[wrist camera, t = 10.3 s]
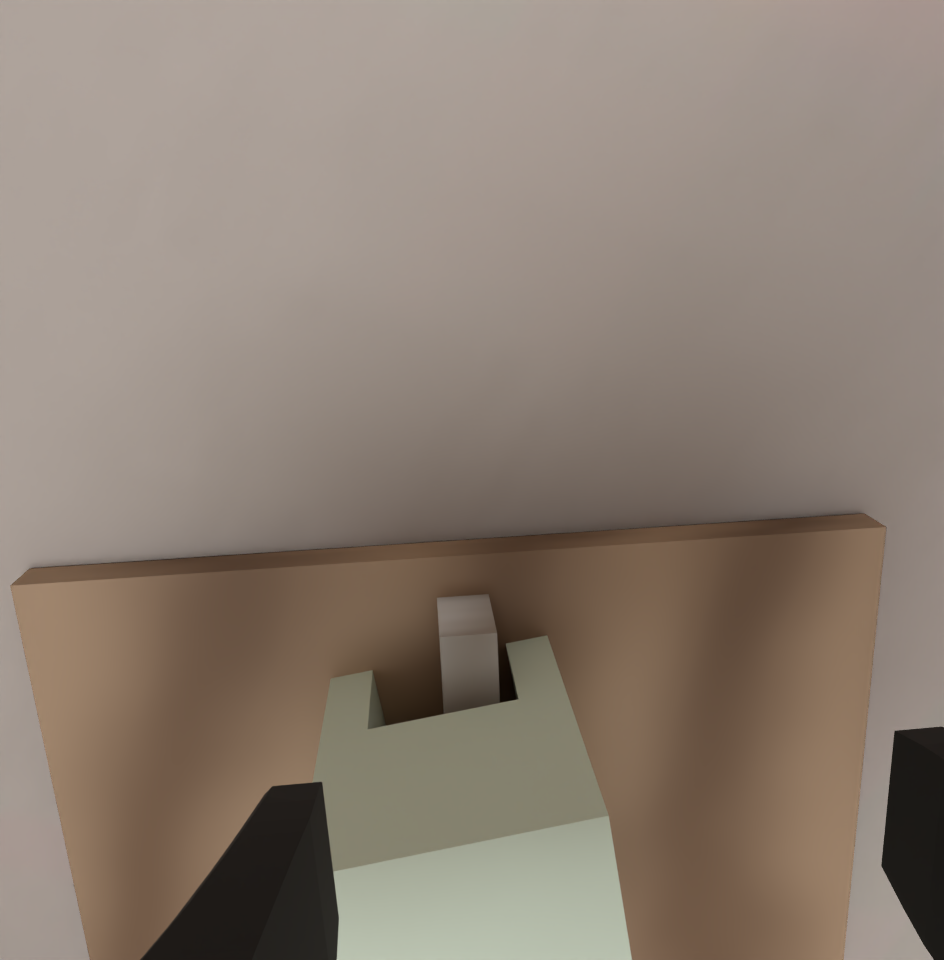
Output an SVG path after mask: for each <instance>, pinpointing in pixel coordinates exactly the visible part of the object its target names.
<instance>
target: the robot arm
mask: <svg viewBox="0 0 944 960" xmlns="http://www.w3.org/2000/svg"><path fill="white" fill-rule="evenodd" d="M882 868H883V870H884V872H885V874H886V875H887V877H888V879H889V881H890V883H891V885H892V887H893V889H894V891H895V893H896V895H897V897H898V899H899V901H900V903H901V904H902V906H903V908H904V910H905V912H906V914H907V915H908V917H909V919H910V921H911V923H912V924H913V926H914V928H915V930H916V932H917V933H918V935H919V937H920V939H921V941H922V942H923V944H924V946H925V947H926V949H927V950H928V952H929V953H930V955H931V956H932V957H933V959H934V960H944V727H933V728H922V729H910V730H899V731H895V733H894V743H893V753H892V763H891V774H890V784H889V794H888V804H887V815H886V825H885V835H884V845H883V855H882ZM338 927H339V914H338V906H337V898H336V890H335V882H334V874H333V866H332V858H331V850H330V842H329V833H328V825H327V817H326V809H325V801H324V793H323V785H322V782H313V783H301V784H290V785H279V786H272V787H271V788H270V789H269V790H268V791H267V792H266V793H265V794H264V796H263V797H262V799H261V800H260V802H259V803H258V805H257V806H256V807H255V809H254V810H253V812H252V813H251V815H250V816H249V818H248V819H247V821H246V822H245V824H244V825H243V827H242V828H241V829H240V831H239V832H238V834H237V835H236V837H235V838H234V839H233V841H232V842H231V844H230V845H229V846H228V848H227V849H226V851H225V852H224V853H223V855H222V856H221V858H220V859H219V860H218V862H217V863H216V865H215V866H214V867H213V869H212V870H211V871H210V873H209V874H208V875H207V877H206V878H205V879H204V881H203V882H202V883H201V885H200V886H199V887H198V888H197V890H196V891H195V892H194V894H193V895H192V896H191V898H190V899H189V900H188V902H187V903H186V904H185V906H184V907H183V908H182V910H181V911H180V912H179V913H178V915H177V916H176V917H175V919H174V920H173V921H172V922H171V924H170V925H169V926H168V927H167V928H166V930H165V931H164V932H163V933H162V934H161V936H160V937H159V938H158V939H157V940H156V942H155V943H154V944H153V945H152V946H151V947H150V949H149V950H148V951H147V952H146V953H145V955H144V956H143V957H142V958H141V959H140V960H337V946H338Z"/></svg>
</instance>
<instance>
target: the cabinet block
mask: <svg viewBox="0 0 944 960" xmlns="http://www.w3.org/2000/svg"><path fill="white" fill-rule="evenodd" d="M506 648H507V653H508V658H509V664H510V669H511V674H512V680H513V685H514V690H515V695H516V700H512V701H507V702H502V703H497V704H492V705H487V706H482V707H477V708H472V709H467V710H462V711H457V712H452V713H447V714H442V715H437V716H432V717H427V718H422V719H417V720H412V721H407V722H402V723H397V724H392V725H387V726H386V724H385V720H384V716H383V711H382V707H381V703H380V699H379V695H378V691H377V687H376V683H375V679H374V674H373V670H371V671H366V672H361V673H356V674H351V675H346V676H341V677H336V678H331V679H330V685H329V691H328V697H327V702H326V708H325V714H324V719H323V725H322V731H321V737H320V742H319V748H318V754H317V759H316V765H315V771H314V777H313V782H322V785H323V793H324V801H325V809H326V817H327V825H328V833H329V842H330V850H331V858H332V866H333V874H334V882H335V890H336V898H337V906H338V914H339V927H338V946H337V960H632V957H631V951H630V944H629V938H628V932H627V926H626V920H625V913H624V907H623V901H622V895H621V889H620V882H619V876H618V870H617V864H616V858H615V851H614V845H613V839H612V833H611V827H610V821H609V815H608V812H607V809H606V806H605V803H604V800H603V797H602V795H601V792H600V789H599V786H598V783H597V780H596V777H595V774H594V771H593V768H592V765H591V762H590V759H589V756H588V754H587V751H586V748H585V745H584V742H583V739H582V736H581V733H580V730H579V727H578V724H577V721H576V718H575V715H574V712H573V710H572V707H571V704H570V701H569V698H568V695H567V692H566V689H565V686H564V683H563V680H562V677H561V674H560V671H559V669H558V666H557V663H556V660H555V657H554V654H553V651H552V648H551V645H550V642H549V639H548V636H547V635H546V636H541V637H536V638H531V639H526V640H521V641H516V642H511V643H506ZM313 782H312V783H313Z"/></svg>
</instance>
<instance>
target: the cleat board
mask: <svg viewBox="0 0 944 960" xmlns="http://www.w3.org/2000/svg"><path fill="white" fill-rule="evenodd" d="M885 534H886V527H885V526H884V525H882V524H880V523H879V522H877V521H876V520H874V519H872V518H871V517H869V516H868V515H866V514H850V515H835V516H819V517H804V518H789V519H774V520H759V521H744V522H729V523H713V524H698V525H683V526H668V527H653V528H638V529H623V530H607V531H592V532H577V533H562V534H547V535H532V536H516V537H501V538H486V539H471V540H456V541H441V542H426V543H410V544H395V545H380V546H365V547H350V548H335V549H320V550H304V551H289V552H274V553H259V554H244V555H229V556H213V557H198V558H183V559H168V560H153V561H138V562H123V563H107V564H92V565H77V566H62V567H47V568H32V569H29V570H27V571H26V572H25V573H24V574H23V575H22V576H21V577H20V578H18V579H17V580H16V581H15V582H14V583H13V584H12V585H11V586H10V587H11V591H12V596H13V601H14V605H15V610H16V615H17V619H18V624H19V629H20V633H21V638H22V643H23V648H24V652H25V657H26V662H27V666H28V671H29V676H30V680H31V685H32V690H33V694H34V699H35V704H36V709H37V713H38V718H39V723H40V727H41V732H42V737H43V741H44V746H45V751H46V755H47V760H48V765H49V770H50V774H51V779H52V784H53V788H54V793H55V798H56V802H57V807H58V812H59V816H60V821H61V826H62V831H63V835H64V840H65V845H66V849H67V854H68V859H69V863H70V868H71V873H72V877H73V882H74V887H75V892H76V896H77V901H78V906H79V910H80V915H81V920H82V924H83V929H84V934H85V939H86V943H87V948H88V953H89V957H90V960H140V959H141V958H142V957H143V956H144V955H145V953H146V952H147V951H148V950H149V949H150V947H151V946H152V945H153V944H154V943H155V942H156V940H157V939H158V938H159V937H160V936H161V934H162V933H163V932H164V931H165V930H166V928H167V927H168V926H169V925H170V924H171V922H172V921H173V920H174V919H175V917H176V916H177V915H178V913H179V912H180V911H181V910H182V908H183V907H184V906H185V904H186V903H187V902H188V900H189V899H190V898H191V896H192V895H193V894H194V892H195V891H196V890H197V888H198V887H199V886H200V885H201V883H202V882H203V881H204V879H205V878H206V877H207V875H208V874H209V873H210V871H211V870H212V869H213V867H214V866H215V865H216V863H217V862H218V860H219V859H220V858H221V856H222V855H223V853H224V852H225V851H226V849H227V848H228V846H229V845H230V844H231V842H232V841H233V839H234V838H235V837H236V835H237V834H238V832H239V831H240V829H241V828H242V827H243V825H244V824H245V822H246V821H247V819H248V818H249V816H250V815H251V813H252V812H253V810H254V809H255V807H256V806H257V805H258V803H259V802H260V800H261V799H262V797H263V796H264V794H265V793H266V792H267V791H268V790H269V789H270V788H271V787H272V786H279V785H290V784H301V783H312V782H313V777H314V771H315V765H316V759H317V754H318V748H319V742H320V737H321V731H322V725H323V719H324V714H325V708H326V702H327V697H328V691H329V685H330V679H331V678H336V677H341V676H346V675H351V674H356V673H361V672H366V671H371V670H373V674H374V679H375V683H376V687H377V691H378V695H379V699H380V703H381V707H382V711H383V716H384V720H385V724H386V726H387V725H392V724H397V723H402V722H407V721H412V720H417V719H422V718H427V717H432V716H437V715H442V714H447V713H452V712H457V711H462V710H467V709H472V708H477V707H482V706H487V705H492V704H497V703H502V702H507V701H512V700H516V695H515V690H514V685H513V680H512V674H511V669H510V664H509V658H508V653H507V648H506V643H511V642H516V641H521V640H526V639H531V638H536V637H541V636H546V635H547V636H548V639H549V642H550V645H551V648H552V651H553V654H554V657H555V660H556V663H557V666H558V669H559V671H560V674H561V677H562V680H563V683H564V686H565V689H566V692H567V695H568V698H569V701H570V704H571V707H572V710H573V712H574V715H575V718H576V721H577V724H578V727H579V730H580V733H581V736H582V739H583V742H584V745H585V748H586V751H587V754H588V756H589V759H590V762H591V765H592V768H593V771H594V774H595V777H596V780H597V783H598V786H599V789H600V792H601V795H602V797H603V800H604V803H605V806H606V809H607V812H608V815H609V821H610V827H611V833H612V839H613V845H614V851H615V858H616V864H617V870H618V876H619V882H620V889H621V895H622V901H623V907H624V913H625V920H626V926H627V932H628V938H629V944H630V951H631V957H632V960H843V958H844V948H845V938H846V928H847V918H848V908H849V898H850V888H851V877H852V867H853V857H854V847H855V837H856V827H857V817H858V807H859V797H860V787H861V776H862V766H863V756H864V746H865V736H866V726H867V716H868V706H869V696H870V686H871V675H872V665H873V655H874V645H875V635H876V625H877V615H878V605H879V595H880V585H881V574H882V564H883V554H884V544H885Z"/></svg>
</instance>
